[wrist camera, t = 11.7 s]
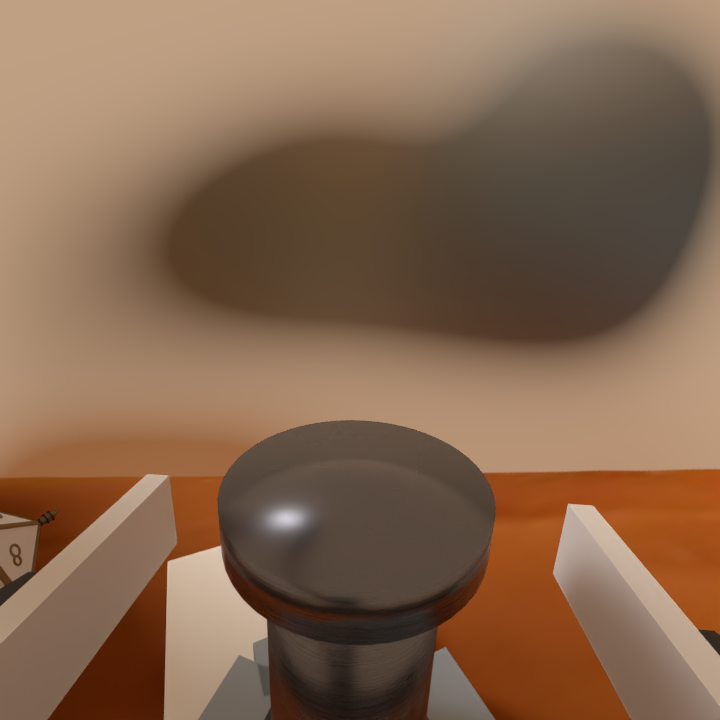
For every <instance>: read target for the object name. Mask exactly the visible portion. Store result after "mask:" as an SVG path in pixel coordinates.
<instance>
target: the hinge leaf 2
mask: <svg viewBox="0 0 720 720" xmlns="http://www.w3.org/2000/svg"><path fill="white" fill-rule="evenodd" d="M253 653H254V661H252V660H250V659H247V658H245V657H243V656H240V655H239V656H238V657H237V659H236V661H235V662H234V664H233V665H232V667H231V668H230V670H229V672H228V673H227V675H226V676H225V678H224V679H223V681H222V683H221V684H220V686H219V687H218V689H217V690H216V692H215V694H214V695H213V697H212V698H211V700H210V701H209V703H208V705H207V706H206V708H205V709H204V711H203V712H202V714H201V716H200V717H199V719H198V720H271V700H270V678H269V656H268V637H266V638H264V639H262V640H259V641H257V642H254V643H253ZM426 720H495V718H494V717H493V715H492V714H491V712H490V711H489V710H488V708H487V707H486V705H485V704H484V702H483V701H482V699H481V698H480V696H479V695H478V694H477V692H476V691H475V689H474V688H473V686H472V685H471V683H470V682H469V680H468V679H467V678H466V676H465V675H464V673H463V672H462V670H461V669H460V667H459V666H458V664H457V663H456V661H455V660H454V659H453V657H452V656H451V654H450V653H449V651H448V650H447V648H446V647H444V648H442V649H440V650H438V651H436V652H434V660H433V669H432V677H431V685H430V694H429V702H428V711H427V719H426Z"/></svg>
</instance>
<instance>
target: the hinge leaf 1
mask: <svg viewBox="0 0 720 720" xmlns="http://www.w3.org/2000/svg"><path fill="white" fill-rule="evenodd" d="M266 637H268V634H267V619H266V618H264V617H263V616H261V615H260V614H258V613H257V612H256V611H255V610H254V609H253V608H251V607H250V606H249V605H248V604H247V603H246V602H245V601H244V600H243V599H242V597H241V596H240V595H239V593H238V592H237V591H236V589H235V588H234V587H233V585H232V583H231V581H230V579H229V577H228V575H227V573H226V570H225V566H224V563H223V559H222V551H221V546H218V547H215V548H212V549H208V550H205V551H201V552H198V553H194V554H191V555H188V556H184V557H181V558H177V559H174V560H170V561H168V568H167V610H166V653H165V696H164V720H198V719H199V717H200V716H201V714H202V712H203V711H204V709H205V708H206V706H207V705H208V703H209V701H210V700H211V698H212V697H213V695H214V694H215V692H216V690H217V689H218V687H219V686H220V684H221V683H222V681H223V679H224V678H225V676H226V675H227V673H228V672H229V670H230V668H231V667H232V665H233V664H234V662H235V661H236V659H237V657H238V656H239V655H240V656H243V657H245V658H247V659H250V660H252V661H254V653H253V643H254V642H257V641H259V640H262V639H264V638H266Z"/></svg>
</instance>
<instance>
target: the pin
mask: <svg viewBox="0 0 720 720" xmlns="http://www.w3.org/2000/svg"><path fill="white" fill-rule="evenodd" d="M495 509H496V507H495V500H494V495H493V492H492V489H491V487H490V485H489V483H488V481H487V479H486V477H485V476H484V474H483V473H482V472H481V471H480V469H479V468H478V467H477V466H476V465H475V464H474V463H473V462H472V461H471V460H470V459H469V458H468V457H466V456H465V455H464V454H463V453H461V452H460V451H459V450H457V449H455V448H454V447H452V446H451V445H449V444H447V443H445V442H443V441H441V440H439V439H437V438H435V437H432V436H430V435H428V434H426V433H423V432H420V431H417V430H414V429H410V428H406V427H403V426H398V425H393V424H387V423H380V422H372V421H354V420H351V421H349V420H348V421H330V422H321V423H315V424H309V425H305V426H300V427H297V428H293V429H289V430H287V431H284V432H281V433H278V434H276V435H274V436H271V437H269V438H267V439H265V440H263V441H261V442H260V443H258V444H256V445H255V446H253V447H252V448H250V449H249V450H248V451H246V452H245V453H244V454H243V455H242V456H240V457H239V458H238V459H237V460H236V461H235V463H234V464H233V465H232V466H231V467H230V468H229V470H228V472H227V473H226V475H225V476H224V478H223V481H222V483H221V486H220V489H219V494H218V515H219V527H220V539H221V551H222V559H223V563H224V566H225V570H226V573H227V575H228V577H229V579H230V581H231V583H232V585H233V587H234V588H235V589H236V591H237V592H238V593H239V595H240V596H241V597H242V599H243V600H244V601H245V602H246V603H247V604H248V605H249V606H250V607H251V608H253V609H254V610H255V611H256V612H257V613H258V614H260V615H261V616H263V617H264V618H266V619H267V634H268V656H269V678H270V700H271V720H426V719H427V711H428V702H429V694H430V685H431V677H432V669H433V660H434V652H435V643H436V635H437V627H438V626H439V625H440V624H442V623H444V622H445V621H447V620H449V619H450V618H452V617H453V616H454V615H455V614H456V613H457V612H459V611H460V610H461V609H462V608H463V607H464V606H465V605H466V604H467V603H468V602H469V600H470V599H471V598H472V597H473V596H474V594H475V593H476V591H477V590H478V588H479V586H480V584H481V582H482V580H483V578H484V575H485V571H486V568H487V565H488V559H489V552H490V546H491V540H492V533H493V527H494V521H495Z"/></svg>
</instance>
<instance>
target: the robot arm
mask: <svg viewBox="0 0 720 720" xmlns="http://www.w3.org/2000/svg"><path fill="white" fill-rule="evenodd" d="M176 544H177V535H176V527H175V519H174V511H173V503H172V494H171V486H170V478H169V476H167V475H153V474H147V475H146V476H145V477H144V478H142V479H141V480H140V481H139V482H138V483H137V484H136V485H135V486H134V487H132V488H131V489H130V490H129V491H128V492H127V493H126V494H125V495H124V496H122V497H121V498H120V499H119V500H118V501H117V502H116V503H115V504H114V505H112V506H111V507H110V508H109V509H108V510H107V511H106V512H105V513H104V514H102V515H101V516H100V517H99V518H98V519H97V520H96V521H95V522H94V523H92V524H91V525H90V526H89V527H88V528H87V529H86V530H85V531H84V532H82V533H81V534H80V535H79V536H78V537H77V538H76V539H75V540H74V541H72V542H71V543H70V544H69V545H68V546H67V547H66V548H65V549H64V550H62V551H61V552H60V553H59V554H58V555H57V556H56V557H55V558H53V559H52V560H51V561H50V562H49V563H48V564H47V565H46V566H45V567H43V568H42V569H41V570H40V571H39V572H38V573H37V572H27V573H26V574H24V575H22V576H21V577H19V578H17V579H15V580H14V581H12V582H10V583H9V584H7V585H5V586H4V587H2V588H0V720H48V718H49V717H50V716H51V714H52V713H53V712H54V710H55V709H56V707H57V706H58V705H59V703H60V702H61V701H62V699H63V698H64V697H65V695H66V694H67V692H68V691H69V690H70V688H71V687H72V686H73V684H74V683H75V682H76V680H77V679H78V678H79V676H80V675H81V673H82V672H83V671H84V669H85V668H86V667H87V665H88V664H89V663H90V661H91V660H92V658H93V657H94V656H95V654H96V653H97V652H98V650H99V649H100V648H101V646H102V645H103V644H104V642H105V641H106V639H107V638H108V637H109V635H110V634H111V633H112V631H113V630H114V629H115V627H116V626H117V625H118V623H119V622H120V620H121V619H122V618H123V616H124V615H125V614H126V612H127V611H128V610H129V608H130V607H131V605H132V604H133V603H134V601H135V600H136V599H137V597H138V596H139V595H140V593H141V592H142V591H143V589H144V588H145V586H146V585H147V584H148V582H149V581H150V580H151V578H152V577H153V576H154V574H155V573H156V571H157V570H158V569H159V567H160V566H161V565H162V563H163V562H164V561H165V559H166V558H167V557H168V555H169V554H170V552H171V551H172V550H173V548H174V547H175V546H176ZM553 575H554V577H555V578H556V580H557V582H558V584H559V586H560V588H561V590H562V592H563V593H564V595H565V597H566V599H567V601H568V603H569V605H570V607H571V608H572V610H573V612H574V614H575V616H576V618H577V620H578V622H579V623H580V625H581V627H582V629H583V631H584V633H585V635H586V637H587V639H588V640H589V642H590V644H591V646H592V648H593V650H594V652H595V654H596V655H597V657H598V659H599V661H600V663H601V665H602V667H603V669H604V670H605V672H606V674H607V676H608V678H609V680H610V682H611V684H612V685H613V687H614V689H615V691H616V693H617V695H618V697H619V699H620V700H621V702H622V704H623V706H624V708H625V710H626V712H627V714H628V715H629V717H630V719H631V720H720V635H719V634H717V633H716V632H715V631H708V630H698V629H697V628H696V627H695V626H694V625H693V624H692V622H691V621H690V620H689V619H688V618H687V616H686V615H685V614H684V613H683V612H682V610H681V609H680V608H679V607H678V606H677V605H676V603H675V602H674V601H673V600H672V599H671V597H670V596H669V595H668V594H667V593H666V592H665V590H664V589H663V588H662V587H661V586H660V584H659V583H658V582H657V581H656V580H655V578H654V577H653V576H652V575H651V574H650V573H649V571H648V570H647V569H646V568H645V567H644V565H643V564H642V563H641V562H640V561H639V560H638V558H637V557H636V556H635V555H634V554H633V552H632V551H631V550H630V549H629V548H628V546H627V545H626V544H625V543H624V542H623V541H622V539H621V538H620V537H619V536H618V535H617V533H616V532H615V531H614V530H613V529H612V528H611V526H610V525H609V524H608V523H607V522H606V520H605V519H604V518H603V517H602V516H601V514H600V513H599V512H598V511H597V510H596V509H595V507H594V506H590V505H576V504H568V507H567V512H566V516H565V521H564V525H563V530H562V535H561V539H560V544H559V548H558V553H557V557H556V562H555V567H554V571H553Z"/></svg>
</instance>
